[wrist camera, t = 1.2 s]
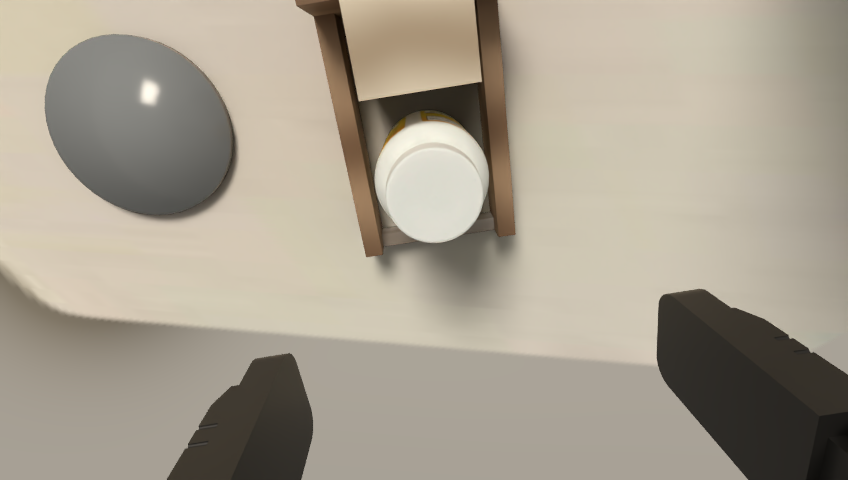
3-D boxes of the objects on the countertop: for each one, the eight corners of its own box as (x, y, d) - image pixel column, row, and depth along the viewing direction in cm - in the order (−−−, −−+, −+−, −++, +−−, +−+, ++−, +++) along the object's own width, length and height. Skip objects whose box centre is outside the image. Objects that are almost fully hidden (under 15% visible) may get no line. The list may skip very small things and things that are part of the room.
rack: (318, 1, 23) (276, -34, 16) (485, -26, 23) (523, -75, 15) (369, 241, 28) (355, 302, 21) (506, 221, 28) (542, 274, 20)
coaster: (20, 51, 23) (10, 50, 23) (200, 21, 23) (195, 19, 23) (98, 223, 27) (91, 226, 26) (254, 198, 27) (250, 201, 26)
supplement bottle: (456, 96, 25) (484, 109, 16) (480, 182, 27) (516, 236, 18) (369, 126, 25) (348, 154, 16) (399, 208, 27) (394, 274, 18)
